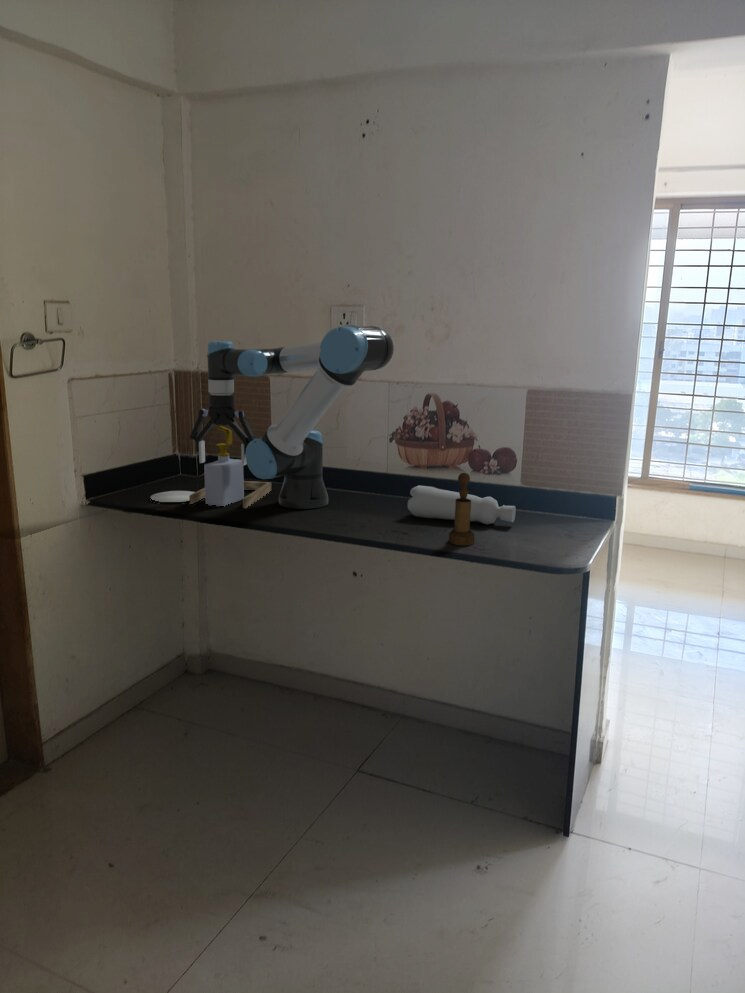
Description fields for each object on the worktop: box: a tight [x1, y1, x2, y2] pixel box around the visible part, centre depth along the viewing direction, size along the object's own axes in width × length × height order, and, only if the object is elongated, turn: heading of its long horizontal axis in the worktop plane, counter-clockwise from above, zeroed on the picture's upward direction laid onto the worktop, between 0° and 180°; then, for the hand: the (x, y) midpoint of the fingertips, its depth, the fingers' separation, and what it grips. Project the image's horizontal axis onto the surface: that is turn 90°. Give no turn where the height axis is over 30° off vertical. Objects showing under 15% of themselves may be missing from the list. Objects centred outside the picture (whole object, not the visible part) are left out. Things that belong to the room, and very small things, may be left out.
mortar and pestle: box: [448, 472, 475, 546], centre depth 194 cm, size 7×6×18 cm
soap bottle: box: [203, 425, 245, 507], centre depth 233 cm, size 12×7×23 cm, turn 157°
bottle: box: [407, 485, 517, 526], centre depth 216 cm, size 9×9×30 cm
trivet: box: [149, 490, 196, 502], centre depth 240 cm, size 15×15×1 cm
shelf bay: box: [189, 480, 273, 509], centre depth 241 cm, size 18×24×3 cm
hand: (223, 463), depth 233 cm, fingers open, 13 cm apart
